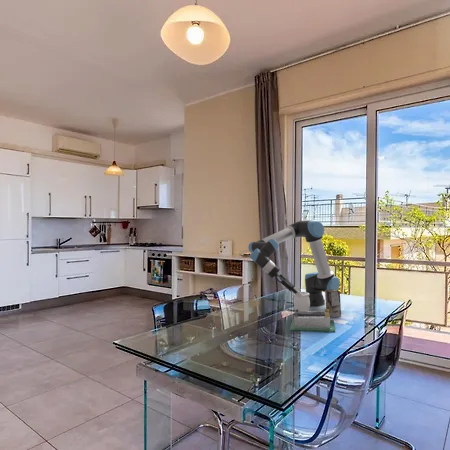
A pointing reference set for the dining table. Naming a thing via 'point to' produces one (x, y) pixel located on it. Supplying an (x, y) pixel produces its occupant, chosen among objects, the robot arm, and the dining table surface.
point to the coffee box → (333, 302)
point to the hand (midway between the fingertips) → (300, 296)
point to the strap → (311, 313)
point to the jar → (302, 302)
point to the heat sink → (313, 322)
